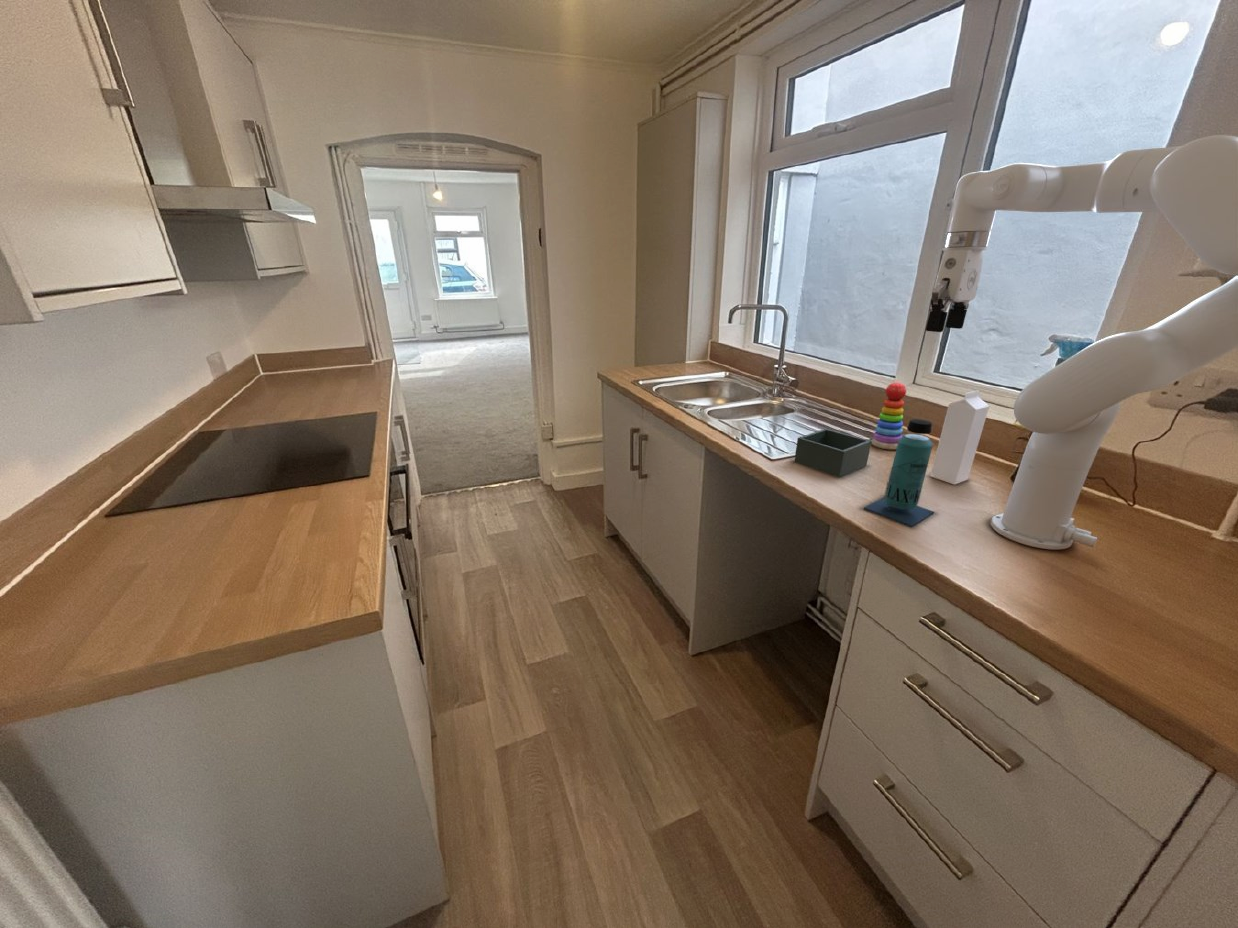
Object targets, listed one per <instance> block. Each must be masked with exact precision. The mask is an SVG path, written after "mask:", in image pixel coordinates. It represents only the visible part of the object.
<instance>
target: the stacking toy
mask: <svg viewBox="0 0 1238 928" xmlns="http://www.w3.org/2000/svg"><path fill="white" fill-rule="evenodd" d="M906 394H907V387H906V386H905V385H904V384H903V383H901V382H891V383H890V384H889V385H888V386H887V387H886V389H885V396H886V399H884V401H883V406H882V408H881V412H880V413H879V419H878V420H877V425H876V426H875V432H873V435H872V436H873V438H872V439H871V441H872V442H871V445H873V446H874V447H876V448H879V449H883V450H889V451H890V450H893V451H894V450H896V449H897V445H898V440H899V438H901V437H903V436H904V435H903V432H904V430H903V428H902V427H904V423H903V419H904V415H903V413H904V408H903V407H904V405H905V402H904V400H903V398H904V397H905V396H906Z"/></svg>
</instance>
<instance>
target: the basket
mask: <svg viewBox="0 0 1238 928" xmlns="http://www.w3.org/2000/svg"><path fill="white" fill-rule="evenodd" d="M871 445H872V440H869V439H865V438H862V437H858V436H854V435H851V434H847V433H844V432H839V431H836V430H832V429H829V428H823V429H820V430H817V431H814V432H812V433H808V434H806V435H803V436H800V437H799V436H798V437H797V441H796V447H795V454H794V461H793V463H796V464H799V465H801V466H804V467H807V468H810V469H813V470H815V471H819V472H822V473H824V474H828V475H830V476H832V477H835V478H842V477H844V476H846V475H849V474H852V473H853V472H856V471H858V470H860V469H863V468H864V467H867V466H868V461H869V456H870V450H871Z"/></svg>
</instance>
